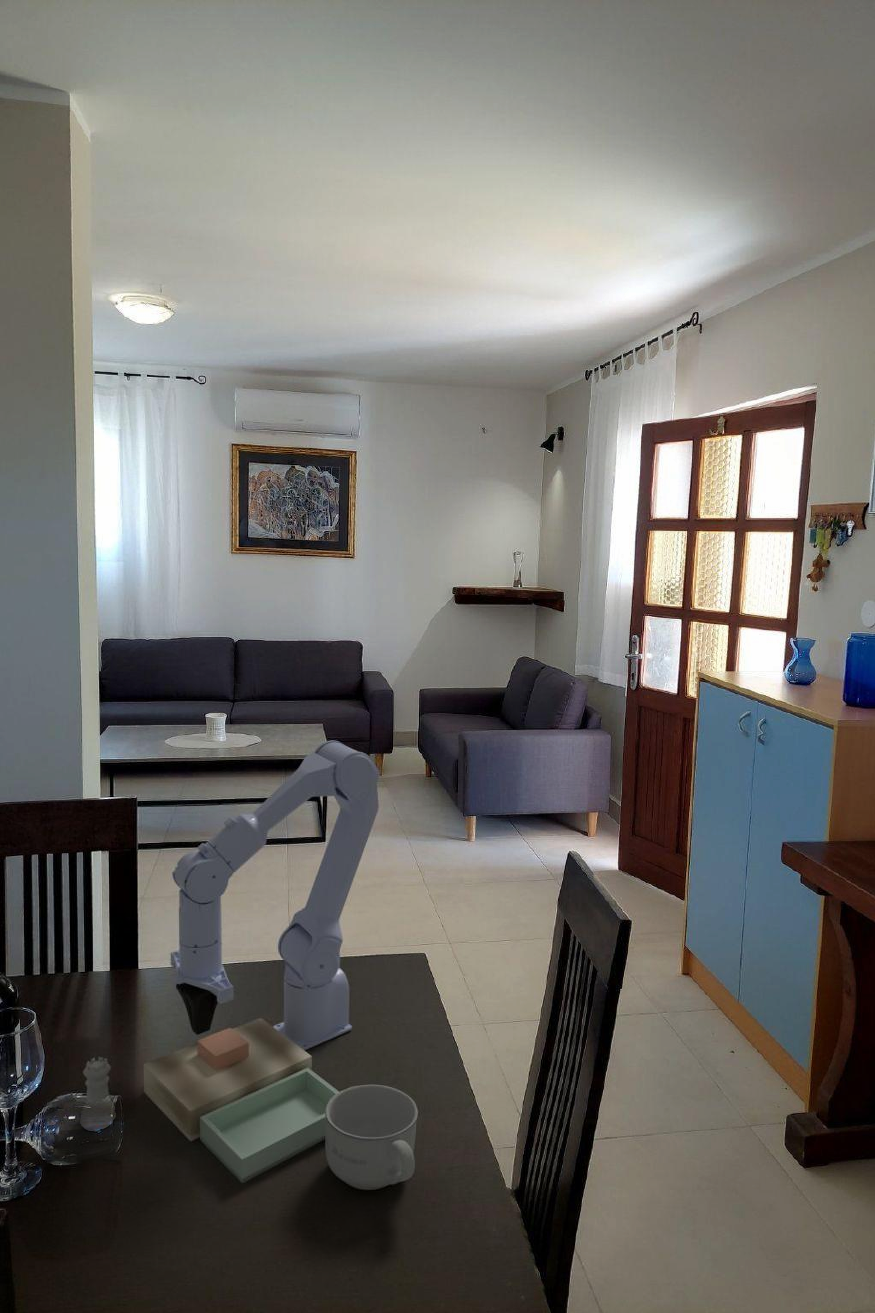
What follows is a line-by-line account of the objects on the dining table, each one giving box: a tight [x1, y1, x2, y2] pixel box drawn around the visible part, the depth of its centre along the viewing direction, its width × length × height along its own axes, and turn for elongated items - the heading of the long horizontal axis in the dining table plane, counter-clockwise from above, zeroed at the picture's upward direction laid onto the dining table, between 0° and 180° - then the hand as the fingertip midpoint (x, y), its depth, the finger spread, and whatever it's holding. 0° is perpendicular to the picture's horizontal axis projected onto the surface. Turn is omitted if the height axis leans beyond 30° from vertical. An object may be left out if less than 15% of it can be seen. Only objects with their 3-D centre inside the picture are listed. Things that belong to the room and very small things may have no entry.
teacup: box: [324, 1084, 419, 1191], centre depth 102 cm, size 14×11×8 cm
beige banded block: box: [143, 1017, 313, 1142], centre depth 119 cm, size 18×13×4 cm
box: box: [199, 1068, 340, 1184], centre depth 111 cm, size 16×10×3 cm, turn 133°
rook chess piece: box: [82, 1056, 112, 1102], centre depth 111 cm, size 4×4×8 cm
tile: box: [196, 1027, 249, 1070], centre depth 120 cm, size 5×5×2 cm
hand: (201, 1030), depth 124 cm, fingers closed
